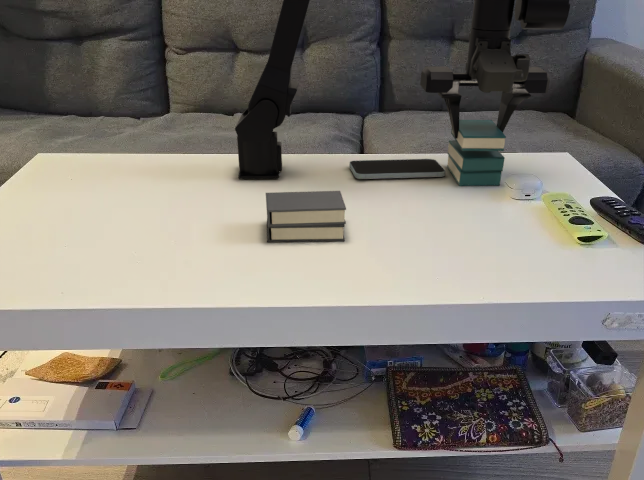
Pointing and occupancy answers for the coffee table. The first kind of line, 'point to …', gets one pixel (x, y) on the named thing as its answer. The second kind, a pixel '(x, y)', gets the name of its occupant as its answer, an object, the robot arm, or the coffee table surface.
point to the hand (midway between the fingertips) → (476, 137)
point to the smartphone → (396, 168)
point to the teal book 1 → (479, 136)
